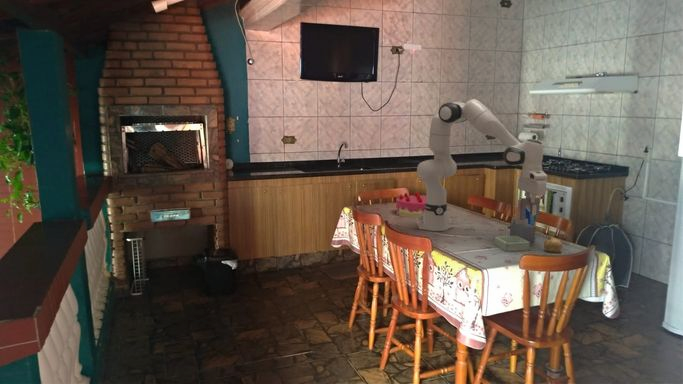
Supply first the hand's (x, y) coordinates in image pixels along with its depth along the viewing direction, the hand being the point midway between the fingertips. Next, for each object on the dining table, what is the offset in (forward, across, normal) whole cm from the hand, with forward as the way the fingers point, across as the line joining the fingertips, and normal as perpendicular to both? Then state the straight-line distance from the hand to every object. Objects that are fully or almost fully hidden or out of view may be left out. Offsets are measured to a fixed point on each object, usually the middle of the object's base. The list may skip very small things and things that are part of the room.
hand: (530, 201), depth 247 cm
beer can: (+22, -16, +8) cm, 29 cm away
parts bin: (+22, +2, -10) cm, 24 cm away
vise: (+22, -6, 0) cm, 23 cm away
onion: (+22, +12, +6) cm, 26 cm away
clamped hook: (+14, -3, 0) cm, 14 cm away
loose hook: (+9, 0, 0) cm, 9 cm away
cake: (+22, -81, -30) cm, 89 cm away
